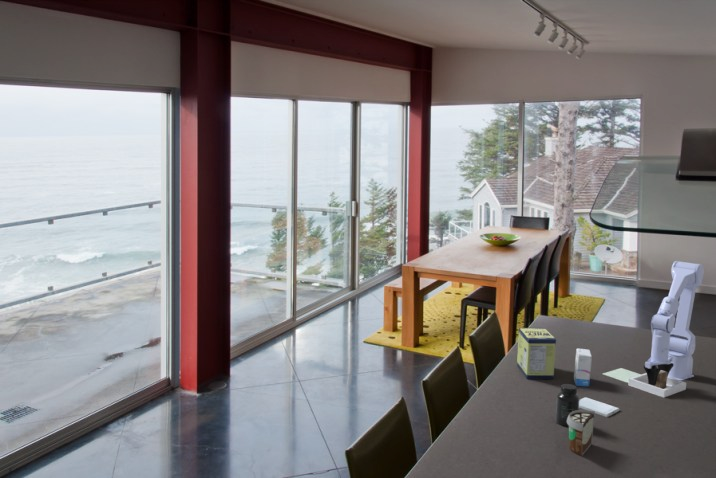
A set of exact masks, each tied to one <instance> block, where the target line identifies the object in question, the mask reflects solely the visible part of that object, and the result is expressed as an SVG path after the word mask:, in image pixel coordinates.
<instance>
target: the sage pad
mask: <svg viewBox="0 0 716 478" xmlns="http://www.w3.org/2000/svg"><path fill="white" fill-rule="evenodd" d="M641 374H642V373H641ZM641 374H640V373H637V372H635V371H631V370H628V369H625V368H622V367H620V368H616V369H613V370H610V371H607V372H603V373H602V375H604V376H607V377H610V378H612V379H616V380H617V381H621V382H624V383H627V384H628V382H629V378H632V377H635V376H638V375H641Z"/></svg>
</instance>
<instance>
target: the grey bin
mask: <svg viewBox="0 0 716 478" xmlns="http://www.w3.org/2000/svg"><path fill="white" fill-rule="evenodd" d="M627 384H628V386H629V387H632V388H635V389H638V390H641V391H643V392H646V393H649V394H653V395H655V396H658V397H661V398H666V397H670V396H672V395H674V394H677V393H680V392H683V391H685V390H687V381H686V382H685V381H684V380H677V379H674V378H671V377H667V384H666V388H664V389H661V388H658V387H656V386H653V385H650V384H648V376H647V373H646V372H645V373H641V375H638V376H635V377H632V378H629V382H628V383H627Z"/></svg>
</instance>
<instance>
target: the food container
mask: <svg viewBox="0 0 716 478" xmlns="http://www.w3.org/2000/svg"><path fill="white" fill-rule="evenodd" d="M595 418H596V413H595V411H590V410H584V409H579V410H576V411H572V412H571V413H570V414H569V415H568V418H567V424H568V425H569V426H568V448H569V450H570V451H571V452H572V453H574V454H576V455H578V456H584V454H585V453H586V451H588V449H589V448H590V447H591V445H592V443H593V435H594V434H593V433H594V425H595V423H594V422H595Z"/></svg>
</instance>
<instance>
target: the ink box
mask: <svg viewBox="0 0 716 478" xmlns="http://www.w3.org/2000/svg"><path fill="white" fill-rule="evenodd" d="M591 353H592V352H591V351H590V349H587V348H586V349H585V348H580V347H579V348H576V350H575V361H574V372H573V380H574V383H575V384H574V385H575V386H576V387H577V386H578V387H587V388H588V387H590V380H591V372H592V371H591V370H592V357H593V356H592V354H591Z"/></svg>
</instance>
